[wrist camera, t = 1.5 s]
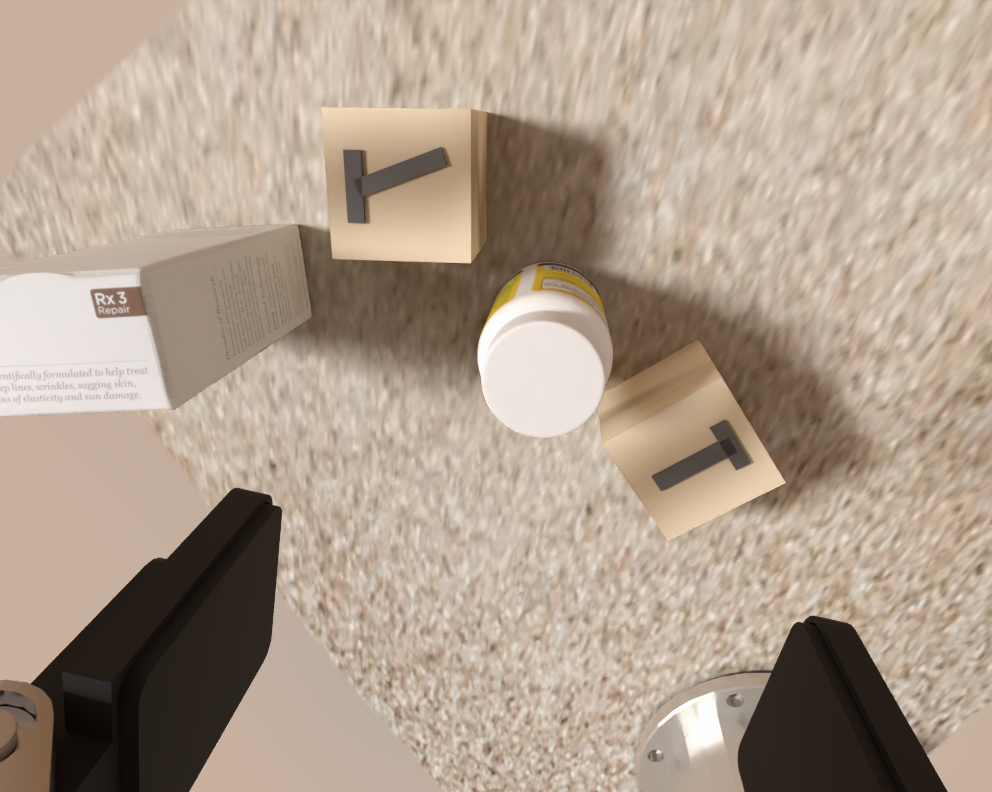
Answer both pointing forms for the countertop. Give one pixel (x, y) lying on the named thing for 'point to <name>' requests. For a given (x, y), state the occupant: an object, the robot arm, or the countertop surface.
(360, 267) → the countertop surface
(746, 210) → the countertop surface
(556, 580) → the countertop surface
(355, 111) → the digit block seven
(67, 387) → the skincare box
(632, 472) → the digit block one
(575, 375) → the supplement bottle
